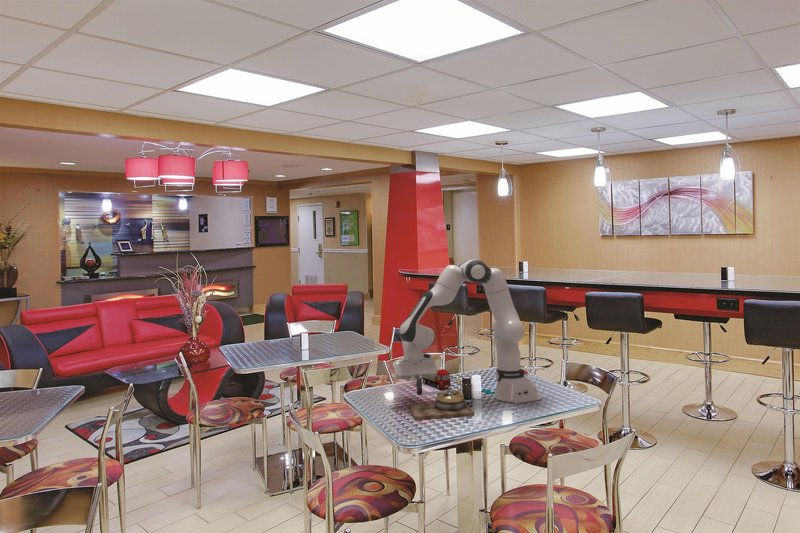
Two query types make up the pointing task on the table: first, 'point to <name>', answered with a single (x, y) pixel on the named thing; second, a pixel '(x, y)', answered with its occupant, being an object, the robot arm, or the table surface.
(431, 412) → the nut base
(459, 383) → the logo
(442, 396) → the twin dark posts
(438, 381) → the toy truck
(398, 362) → the robot arm
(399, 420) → the table surface
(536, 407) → the table surface
